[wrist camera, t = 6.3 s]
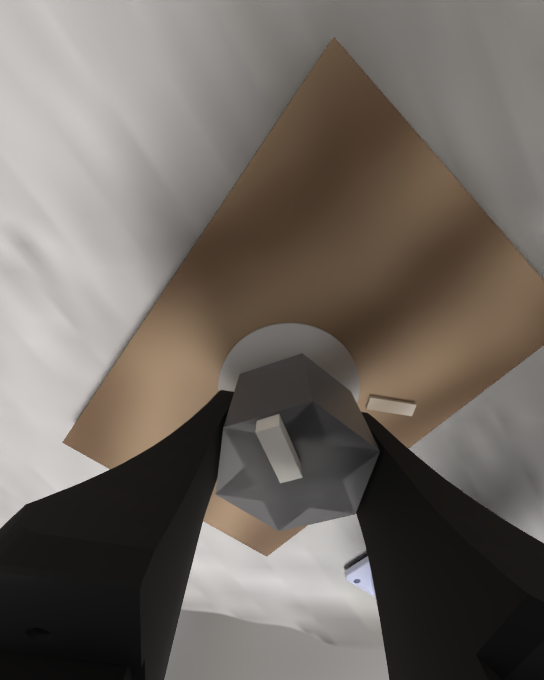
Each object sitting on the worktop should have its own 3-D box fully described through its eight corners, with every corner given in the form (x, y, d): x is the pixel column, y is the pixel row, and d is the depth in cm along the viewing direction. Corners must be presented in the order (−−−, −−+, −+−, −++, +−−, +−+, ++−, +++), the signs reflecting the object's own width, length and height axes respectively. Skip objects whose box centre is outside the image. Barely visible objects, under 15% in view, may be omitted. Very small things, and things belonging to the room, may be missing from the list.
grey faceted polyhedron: (364, 434, 12) (403, 519, 8) (252, 465, 13) (241, 555, 9) (335, 342, 10) (366, 396, 7) (209, 383, 11) (175, 452, 7)
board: (550, 312, 13) (609, 327, 10) (267, 537, 19) (265, 577, 17) (327, 61, 10) (342, 4, 7) (77, 428, 16) (44, 459, 14)
